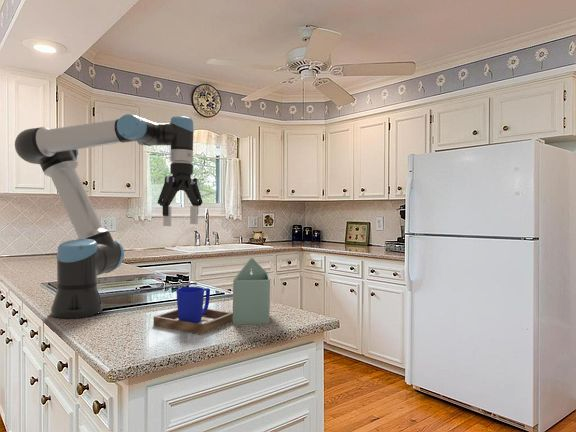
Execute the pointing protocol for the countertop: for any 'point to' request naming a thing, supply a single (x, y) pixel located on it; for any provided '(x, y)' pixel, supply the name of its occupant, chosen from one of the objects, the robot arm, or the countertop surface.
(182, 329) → the brown wooden tray
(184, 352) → the countertop surface
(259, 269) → the planter
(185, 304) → the mug
